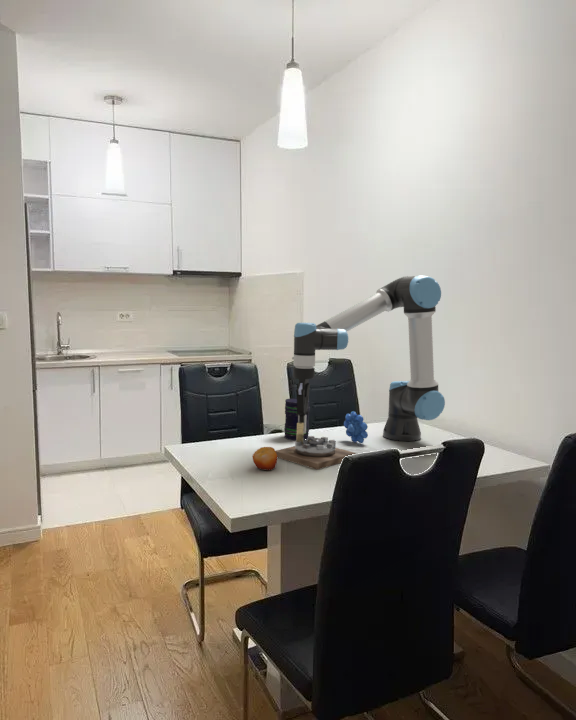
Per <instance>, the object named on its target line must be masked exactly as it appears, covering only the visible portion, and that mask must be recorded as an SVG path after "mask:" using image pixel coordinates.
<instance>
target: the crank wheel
mask: <svg viewBox="0 0 576 720" xmlns="http://www.w3.org/2000/svg"><path fill="white" fill-rule="evenodd" d="M303 435H304V423H303V422H297V439H296V440H294V446H295V452H297V453H298V454H301V455H305V456H313V457H323V456H330V455H333V454H335V448H337V446H336V444H337V442H336V440H335V439H329V437H326V436H322V437H315V436H314V435H308V439H306V440H304V438H303Z"/></svg>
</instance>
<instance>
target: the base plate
mask: <svg viewBox="0 0 576 720" xmlns="http://www.w3.org/2000/svg"><path fill="white" fill-rule="evenodd" d="M275 451H276V453H277V457H278V458H279V459H281V460H285V461H288V462H290V463H294V464H298V465H301V466H304V467H307V468H311V469H314V470H317V471H318V470H322V469H324V468H328V467H332V466H334V465H338V464H341V461H342V459H343V458H344V457H345V456H348V455H352V454H356V452H354V451H350V450H346V449H341V448H338V447H335V454H333V455H330V456H323V457H313V456H305V455H301V454H298V453H297V452H295V445H294V446H290V447H289V446H288V447H285V448H280V449H277V450H275ZM278 458H277V459H278Z"/></svg>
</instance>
